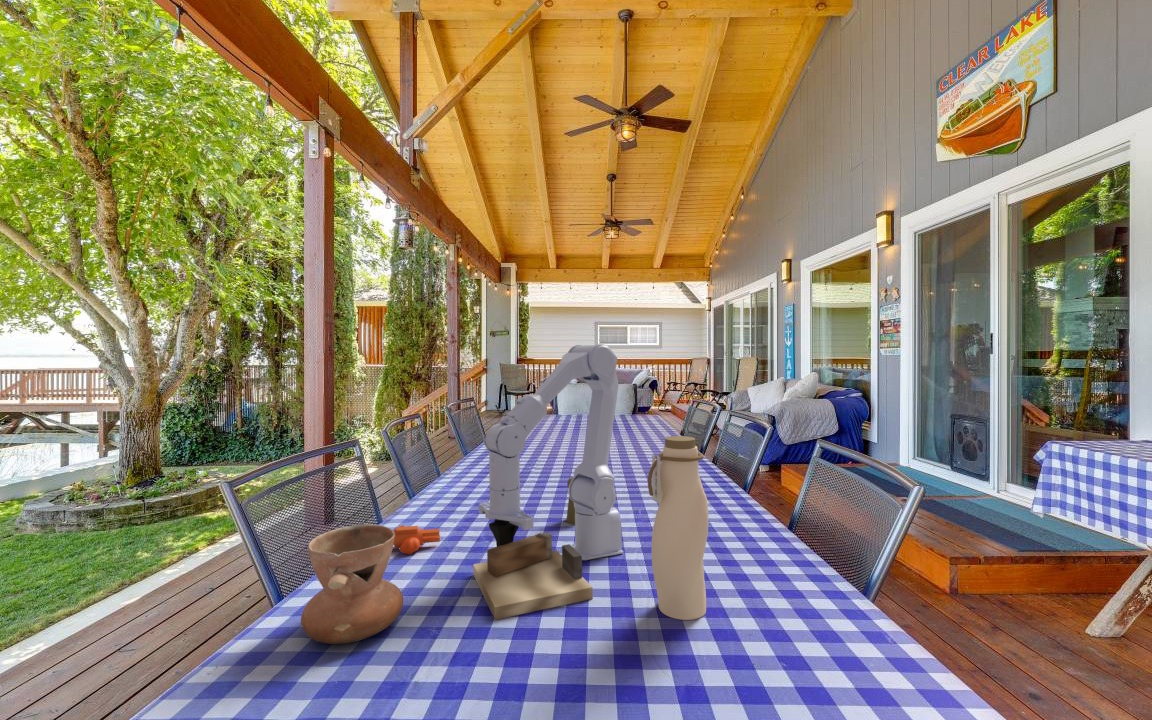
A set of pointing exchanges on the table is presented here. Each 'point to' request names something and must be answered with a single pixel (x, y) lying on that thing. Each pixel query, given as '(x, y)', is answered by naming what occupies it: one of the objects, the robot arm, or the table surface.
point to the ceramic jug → (351, 585)
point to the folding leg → (519, 554)
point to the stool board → (535, 585)
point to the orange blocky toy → (413, 538)
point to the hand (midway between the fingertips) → (505, 558)
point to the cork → (570, 508)
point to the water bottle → (679, 529)
